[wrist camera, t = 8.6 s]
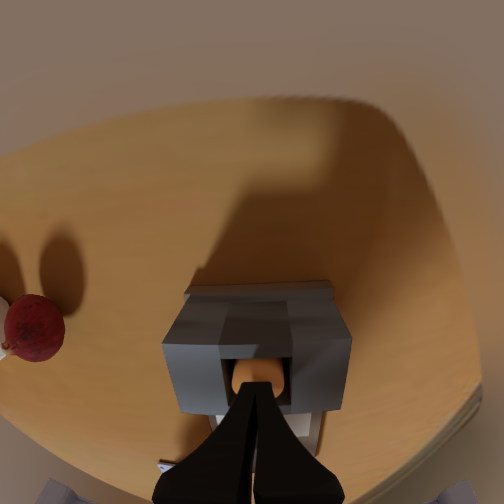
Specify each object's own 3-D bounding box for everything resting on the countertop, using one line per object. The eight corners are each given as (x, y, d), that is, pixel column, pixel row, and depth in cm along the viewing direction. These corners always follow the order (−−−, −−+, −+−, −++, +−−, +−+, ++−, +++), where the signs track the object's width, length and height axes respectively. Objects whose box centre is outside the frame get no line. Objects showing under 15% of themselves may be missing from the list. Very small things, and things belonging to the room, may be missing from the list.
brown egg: (281, 360, 17) (284, 401, 13) (239, 361, 17) (234, 402, 13) (280, 325, 16) (284, 364, 13) (236, 326, 16) (229, 366, 13)
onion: (60, 273, 20) (-1, 310, 13) (90, 330, 22) (41, 381, 14) (29, 291, 21) (-24, 325, 13) (56, 341, 22) (11, 384, 15)
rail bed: (310, 460, 25) (316, 512, 18) (225, 462, 26) (217, 514, 19) (329, 279, 19) (362, 336, 12) (189, 285, 20) (152, 342, 13)
